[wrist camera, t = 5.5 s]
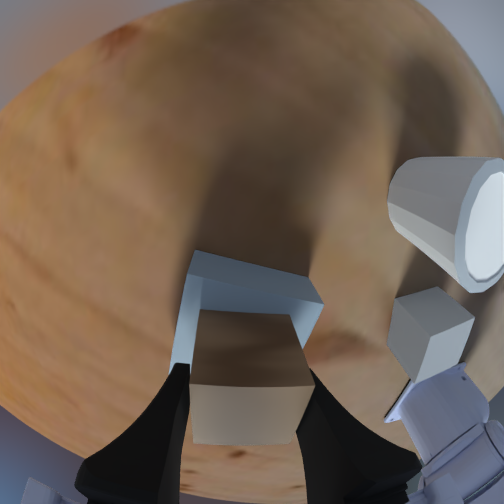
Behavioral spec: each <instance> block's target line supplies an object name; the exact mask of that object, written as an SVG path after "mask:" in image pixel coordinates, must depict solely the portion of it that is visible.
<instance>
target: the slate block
mask: <svg viewBox="0 0 504 504" xmlns="http://www.w3.org/2000/svg"><path fill="white" fill-rule="evenodd" d="M323 306H324V303H323V301H322V300H321V298H320V296H319V294H318V293H317V291H316V289H315V288H314V286H313V284H312V283H311V281H310V279H309V278H308V277H305V276H301V275H296V274H292V273H288V272H284V271H280V270H276V269H272V268H268V267H263V266H259V265H255V264H251V263H247V262H243V261H239V260H235V259H231V258H227V257H223V256H219V255H215V254H211V253H207V252H203V251H199V250H195V251H194V254H193V257H192V260H191V263H190V266H189V269H188V273H187V277H186V281H185V286H184V291H183V296H182V301H181V306H180V311H179V317H178V322H177V327H176V333H175V339H174V345H173V351H172V357H171V363H170V369H169V374H170V372H171V370H172V368H173V366H174V364H175V363H176V362H178V363H187V364H190V374H191V366H192V359H193V351H194V344H195V337H196V330H197V324H198V317H199V311H200V309H205V310H217V311H231V312H247V313H266V314H290V317H291V320H292V323H293V325H294V328H295V331H296V333H297V336H298V339H299V342H300V344H301V347H302V349H303V347H304V345H305V343H306V341H307V339H308V337H309V335H310V333H311V331H312V329H313V327H314V325H315V323H316V321H317V319H318V317H319V315H320V313H321V311H322V308H323Z"/></svg>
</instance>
